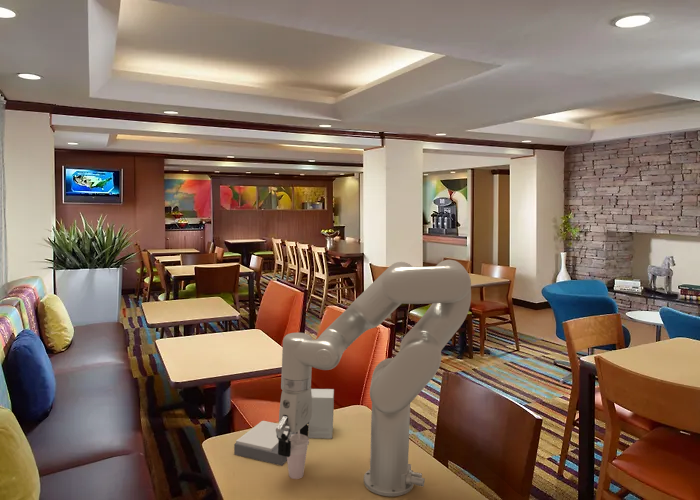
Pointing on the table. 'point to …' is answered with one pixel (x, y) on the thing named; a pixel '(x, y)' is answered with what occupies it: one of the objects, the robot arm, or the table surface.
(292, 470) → the smoothie
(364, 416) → the table surface
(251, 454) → the scale
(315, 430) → the supplement box
